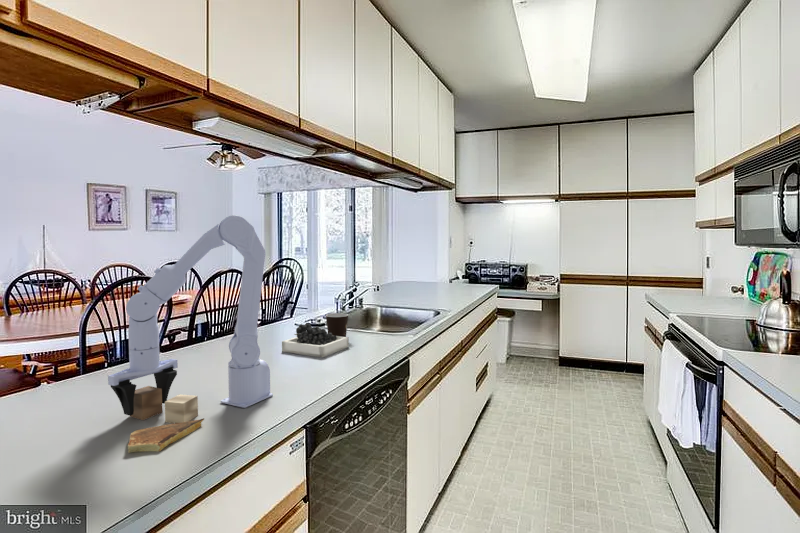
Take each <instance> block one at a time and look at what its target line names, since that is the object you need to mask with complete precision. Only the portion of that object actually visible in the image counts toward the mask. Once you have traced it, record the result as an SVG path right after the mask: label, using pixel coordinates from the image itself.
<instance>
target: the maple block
mask: <svg viewBox="0 0 800 533" xmlns="http://www.w3.org/2000/svg"><path fill="white" fill-rule="evenodd" d="M198 404H199V398H198V395H191V394H177V395H175V396H173V397H171V398H170V399H167V401H165V403H164V419H165V420H164V422H165V423H168V424H173V423H183V422H188V421H193V420H194V419H195V418H196V417H198V416H199V405H198Z"/></svg>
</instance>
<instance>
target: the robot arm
mask: <svg viewBox="0 0 800 533" xmlns="http://www.w3.org/2000/svg"><path fill="white" fill-rule="evenodd" d="M224 241H225V242H226V243H227V244H229V245H231V246H233V247H234V248H235V250H236V251H237V252H238V253H239V254H240V255H241V256H242V257H243V265H242V274H241V282H240V292H239V298H238V308H237V309H238V310H237V318H236V324H235V328H234V333H233V335H232V337H231V339H230V341H229V344H228V350H229V352H230V356H231V359H230V360H229V361H228V367H227V368H228V373H227V375H228V379H227V380H228V396H227V397H226V398H223V399H220V404H221V403H222V404H225V405H230V406H234V407H237V408H242V409H245V408H248V407H250V406H253V405H254V404H257V403H260V402H262V401H263V400H264V401H265V399H268V398H271V397H273V395H274V394H273V392H271V368H270V366H269V363H267V361H266V360H264V359H260V355H261V348H260V346H259V342H258V337H259V334H258V333H259V332H258V320H259V313H260V303H261V297H262V296H261V294H262V287H263V278H264V270H265V260H266V250H265V248H264V245H263V243H262V242H261V240H260V238H259V236H258V234H257V232H256V231H255V227H254V226H253V225H252V224H251V223H250V222H249V221H248V220H247V219H246V218H244V217H243V216H242V215H241V216H240V215H237V214H231V215H229V216H226V217H225V218H224V219H222V220H221V221H220V222H219V223H217V224H216V225H215V226H214V227H212V228H211V229H209V230H207V231H206V232H204V233H203V234H202V236H200V238H199V239H197V241H195V243H194V244H193V245H192V246H191V247H190V248H189V249H188V250H187V251H186V252H185V253H184V254H183V255H182V256H181V257H180V258H179V259H178V260H177V261H176V262H175V263H174V264H165V265H163V266H162V267H157V268H156V269H155V270H154V271H153V273H154V275H153V276H152V277H151V278H150V279H149V280H148V281H146V282H145V284H144V285H140V286H139V287H138V288H137V290H138V291H139V292H137V293H135V294H132V296H131V297H130V298H129V299H128V301H127V303H126V304H125V305H126V307H125V309H126V313H127V315H128V316H129V317H128V325H129V327H128V329H127V330H128V332H127V334H128V361H129V362H128V363H129V366H128V368H125V369H123V370H121V371H118V372H115V373H112V374H108V375H107V384H108V385H109V386H110V388H111V390H113V392H114V393H115V394H116V396H117V398H118V400H119V402H120V404H121V408H122V410H123V411H122V412H123V414H124V415H127V416H129V417H130V416H131V415H133V413H134V394H135V390H137V389H136V388H137V384H133V383H132V380H136V379H139V378H143V377H146V376H150V375H153V376H154V381H155V387H156V388H160V389H162V405H163V404H164V405H165V401H167V400H168V396H169V393H170V389H171V387H172V384H173V382H174V380H175V378H176V377H177V375H178V370H177V368H178V359H177V358H176V359H175V358H170V359H169V358H168V359H165V360H160V327H159V324H158V311H159V309H160V305H163V304H166V303H167V302H168V301H169V300H170V299H171V298H172V297H173V296H174V295H175V294H176V293H177V292H178V291H179V290H180V289H181V288H182V287H183V286H184V285H185V284H186V282H187V281H186V280H187V279H186V274H187V273H188V272H189V271H191V269H192V268H193V267H194V266H196V264H197V263H199V261H200V260H202V259H203V258H204V257H205V256H206V255H207V254H208V253H209V252H210V251H211V250H213V249H216V248H219V247H223V246H225V245H226V244H225V243H224Z"/></svg>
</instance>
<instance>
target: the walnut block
mask: <svg viewBox="0 0 800 533" xmlns="http://www.w3.org/2000/svg"><path fill="white" fill-rule="evenodd" d="M162 413H163V403H162V389H160V388H157V387H156V386H151V385H147V386H144V387H140V388H137V389H135V394H134V413H133V415H131V416H129V417H131V418H134V419H137V420H141V421H145V420H147V419H150V418H153V417H154V416H157V415H161V414H162Z"/></svg>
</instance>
